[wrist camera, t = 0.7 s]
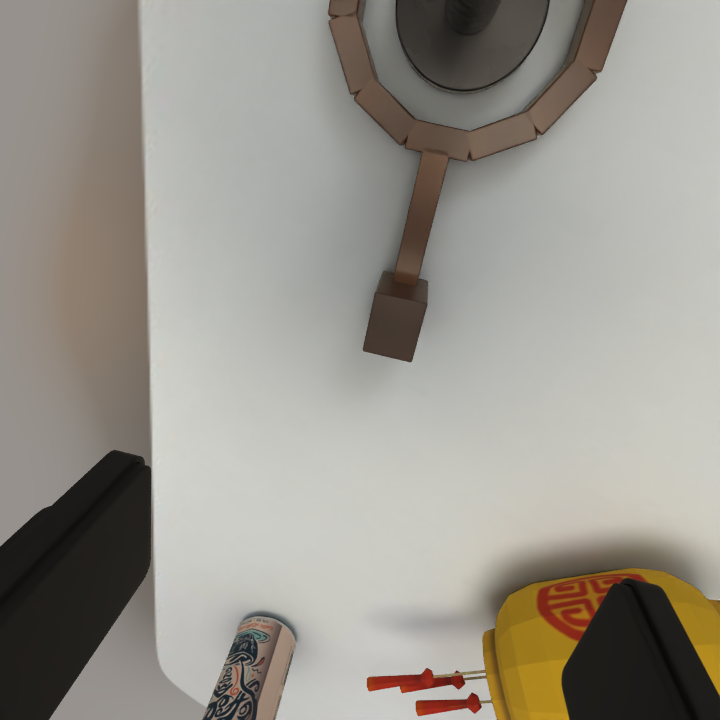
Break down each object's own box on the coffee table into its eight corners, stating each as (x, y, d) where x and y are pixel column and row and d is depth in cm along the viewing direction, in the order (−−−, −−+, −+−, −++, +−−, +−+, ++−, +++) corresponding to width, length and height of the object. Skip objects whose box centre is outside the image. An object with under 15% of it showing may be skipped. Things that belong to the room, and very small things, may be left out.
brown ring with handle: (366, -199, 18) (349, -285, 14) (666, -142, 17) (728, -217, 14) (294, 304, 26) (272, 330, 23) (493, 351, 26) (503, 385, 22)
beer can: (274, 604, 37) (207, 796, 26) (309, 643, 38) (260, 842, 27) (227, 620, 38) (146, 808, 28) (263, 657, 40) (199, 851, 29)
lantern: (384, 842, 28) (1074, 831, 19) (328, 696, 26) (1035, 620, 18) (406, 692, 37) (875, 644, 29) (365, 580, 36) (841, 497, 28)
